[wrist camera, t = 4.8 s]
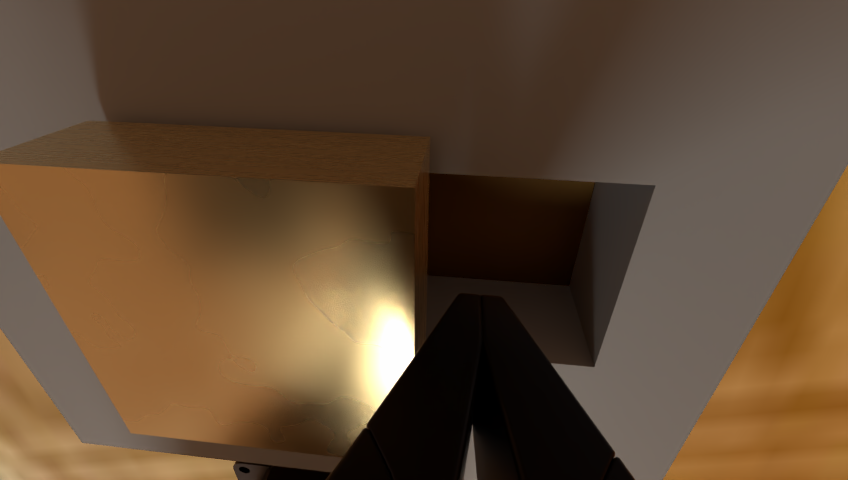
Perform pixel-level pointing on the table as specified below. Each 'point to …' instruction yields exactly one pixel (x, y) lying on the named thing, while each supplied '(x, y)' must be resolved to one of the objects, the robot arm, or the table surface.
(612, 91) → the base plate
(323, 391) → the brass cover
